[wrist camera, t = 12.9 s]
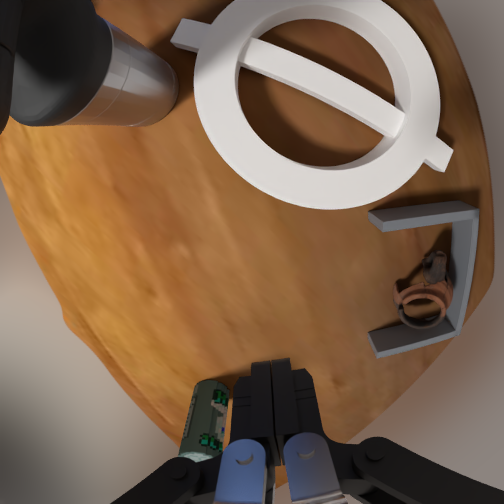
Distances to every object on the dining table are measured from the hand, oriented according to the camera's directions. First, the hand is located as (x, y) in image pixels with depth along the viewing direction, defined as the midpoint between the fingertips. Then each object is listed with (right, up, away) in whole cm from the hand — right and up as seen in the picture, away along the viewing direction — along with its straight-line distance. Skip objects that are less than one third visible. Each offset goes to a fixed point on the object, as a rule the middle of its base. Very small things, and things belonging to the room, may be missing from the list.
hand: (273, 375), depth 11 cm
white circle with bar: (+7, +24, +20) cm, 32 cm away
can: (-8, -20, +37) cm, 43 cm away
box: (+23, +2, +27) cm, 36 cm away
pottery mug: (+24, +1, +28) cm, 37 cm away
